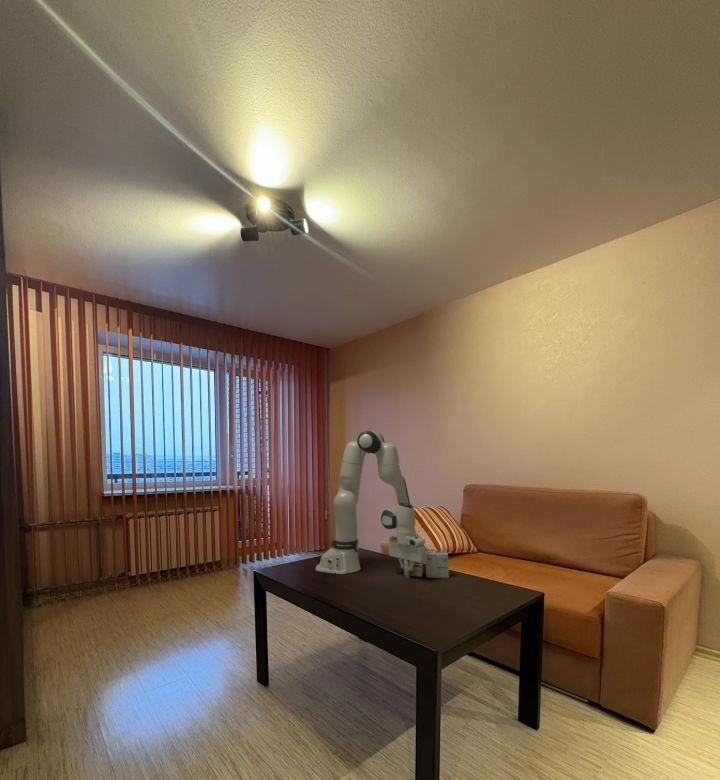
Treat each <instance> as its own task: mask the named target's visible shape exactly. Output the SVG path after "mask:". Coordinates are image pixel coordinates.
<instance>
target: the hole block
mask: <svg viewBox="0 0 720 780" xmlns="http://www.w3.org/2000/svg"><path fill="white" fill-rule="evenodd" d="M410 565H411V563H410ZM423 573H424V564H423V563H415V564H414V566H413V570H412V571H410V576H411V577H423Z"/></svg>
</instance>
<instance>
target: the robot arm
mask: <svg viewBox="0 0 720 780" xmlns="http://www.w3.org/2000/svg"><path fill="white" fill-rule="evenodd" d="M366 454H372V455H373V454H374V455H375V456H376V461H377V472H378V473H377V475H378V476H379V478H380V480H381V481H382V482H384V483H385V484H387V485H389V486H390V487H392V488H393V489H394V490H395V494H396V499H397V504H396V505H395V506H394V507H391V508H388V509H384V510H383V511H382V513H381V515H380V520H381V524H382V526H383V528H385V529H386V530H396V536H394V535H392V536H390V537H389V541H388V542H389V543H388V550H387V551H388V555H389V556H390V557H392V558H397V559H398V562H399V564H400V569H403V570H404V559H405V560H409V561H410V563H411V565H410V566H408V568H409V570H410V571H412V570H413V566H414V564H416V563H417V564H423V563H426V559H427V556H426V551H427V548H426V546H425V544H426V540H425V539H424V538H422V537H421V536H419V535H418V534H417V532H416V528H415V526H416V511H415V508H414V506H413V504H411V501H410V496H409V493H408V487H407V484H406V483H407V482H406V479H405V477H404V476H403V474H402V472H401V467H400V458H399V452H398V450H397V446H396V445H395V444H393V443H389V442H385V438H384V436H383V435H382V434H381V433H380V432H377V431H374V430H364V431H363V432H361V433H360V434H359V435H358V437H357V440H356V441H349V442H348V443H347V444H346V445H345V449H344V451H343V455H342V461H341V465H340V471H339V479H338V481H339V482H338V489H337V490H338V491H337V493H336V495H335V496H334V500H333V510H334V511H333V512H334V521H335V522H334V524H335V538H333V540H332V541H331V542H330V545H331V547H330V548H329V549H328V550H326V551H325V552H324V553H323V554H322V556H321V557H320V561H319V563H318V564H317V565H316V566H315V571H316V572H321V573H329V574H335V573H336V574H335V575H346V574H349V573H355V572H358V571H360V570H361V569H362V568H361V565H360V560H359V552H358V551H359V539H358V519H357V518H358V517H357V504H358V501H359V495H360V489H361V488H360V487H361V479H362V473H363V466H364V460H365V456H366Z"/></svg>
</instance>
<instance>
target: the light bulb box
mask: <svg viewBox="0 0 720 780" xmlns="http://www.w3.org/2000/svg"><path fill="white" fill-rule="evenodd" d="M426 556H427V559H426V561H425V575H426V578H435V579H436V578H439V579H442V578H443V579H449V578H450V571H449V570H450V569H449V553H448V551H447V550H426Z"/></svg>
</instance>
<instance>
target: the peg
mask: <svg viewBox="0 0 720 780" xmlns="http://www.w3.org/2000/svg"><path fill="white" fill-rule="evenodd" d="M403 562H404V569H403V575H404V576H403V578H404V579H411V577H412V576H410V570H409V568H408V566H410V561H409V560H405V559H404V560H403Z"/></svg>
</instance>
